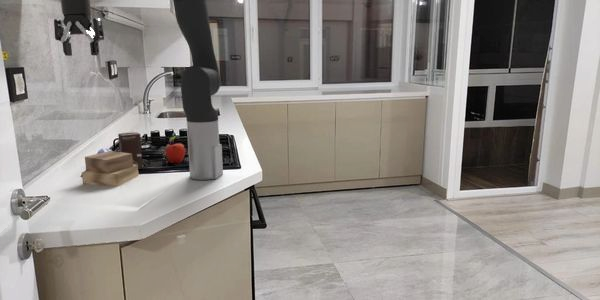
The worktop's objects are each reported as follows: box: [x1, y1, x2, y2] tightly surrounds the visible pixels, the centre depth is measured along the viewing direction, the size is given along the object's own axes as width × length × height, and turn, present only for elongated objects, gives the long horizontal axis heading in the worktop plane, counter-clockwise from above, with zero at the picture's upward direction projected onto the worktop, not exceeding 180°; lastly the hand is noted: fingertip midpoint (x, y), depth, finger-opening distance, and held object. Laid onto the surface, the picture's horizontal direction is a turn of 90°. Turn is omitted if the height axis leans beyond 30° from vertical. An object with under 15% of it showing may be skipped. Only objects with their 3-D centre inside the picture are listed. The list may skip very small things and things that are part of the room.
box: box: [117, 131, 143, 169], centre depth 134 cm, size 6×4×12 cm
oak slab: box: [81, 164, 140, 187], centre depth 124 cm, size 11×11×4 cm
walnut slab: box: [84, 150, 133, 174], centre depth 123 cm, size 9×9×4 cm
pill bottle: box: [96, 147, 113, 154], centre depth 140 cm, size 5×5×10 cm
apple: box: [164, 135, 187, 164], centre depth 143 cm, size 8×7×10 cm
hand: (81, 55), depth 124 cm, fingers open, 8 cm apart
